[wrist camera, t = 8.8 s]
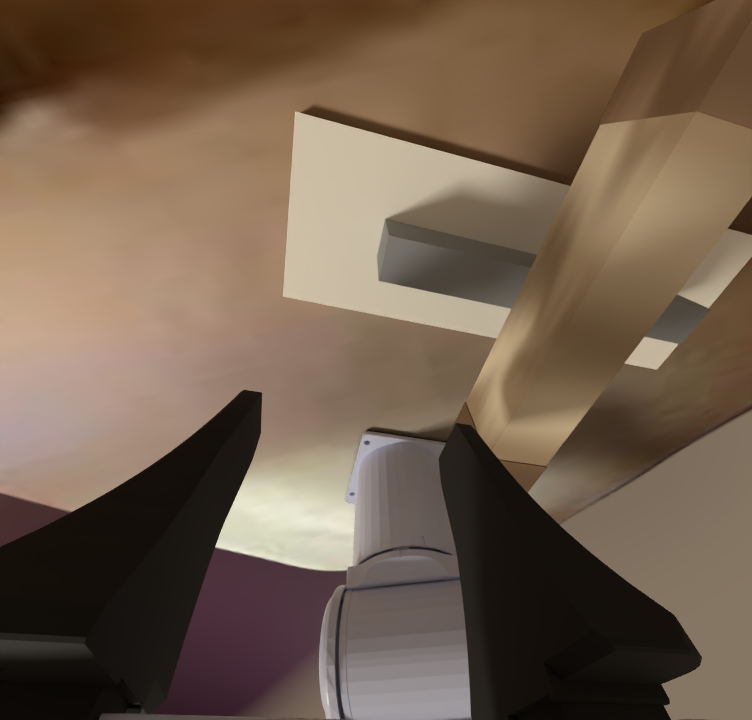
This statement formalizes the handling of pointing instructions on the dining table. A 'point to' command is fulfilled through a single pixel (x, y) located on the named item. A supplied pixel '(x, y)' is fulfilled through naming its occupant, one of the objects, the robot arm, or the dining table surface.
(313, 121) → the ridge stand
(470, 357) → the dining table surface
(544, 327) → the shiny metallic bar
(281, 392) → the dining table surface
